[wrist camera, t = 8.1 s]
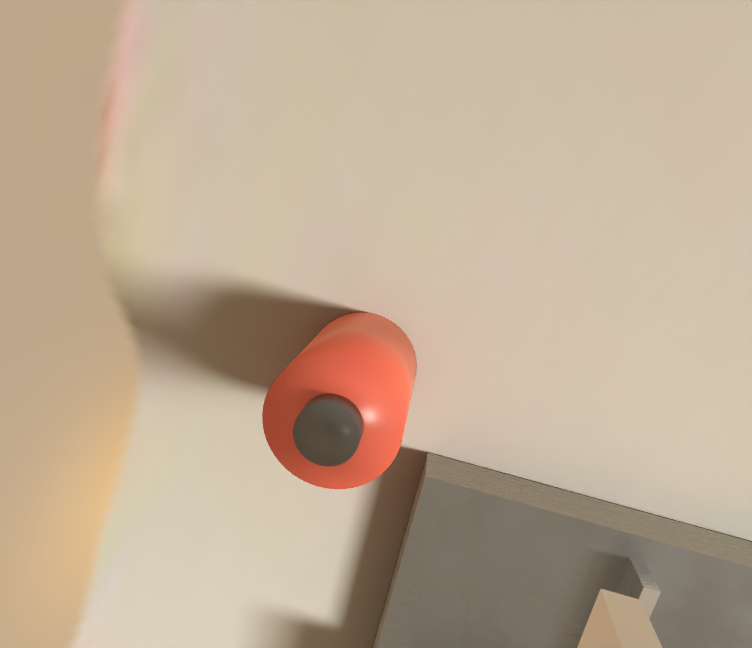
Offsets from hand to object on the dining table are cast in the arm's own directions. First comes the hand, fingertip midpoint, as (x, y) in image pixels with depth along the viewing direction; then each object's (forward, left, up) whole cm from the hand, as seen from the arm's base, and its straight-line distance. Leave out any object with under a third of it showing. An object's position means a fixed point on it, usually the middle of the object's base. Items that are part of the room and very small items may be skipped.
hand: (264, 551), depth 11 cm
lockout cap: (0, 0, -12) cm, 12 cm away
